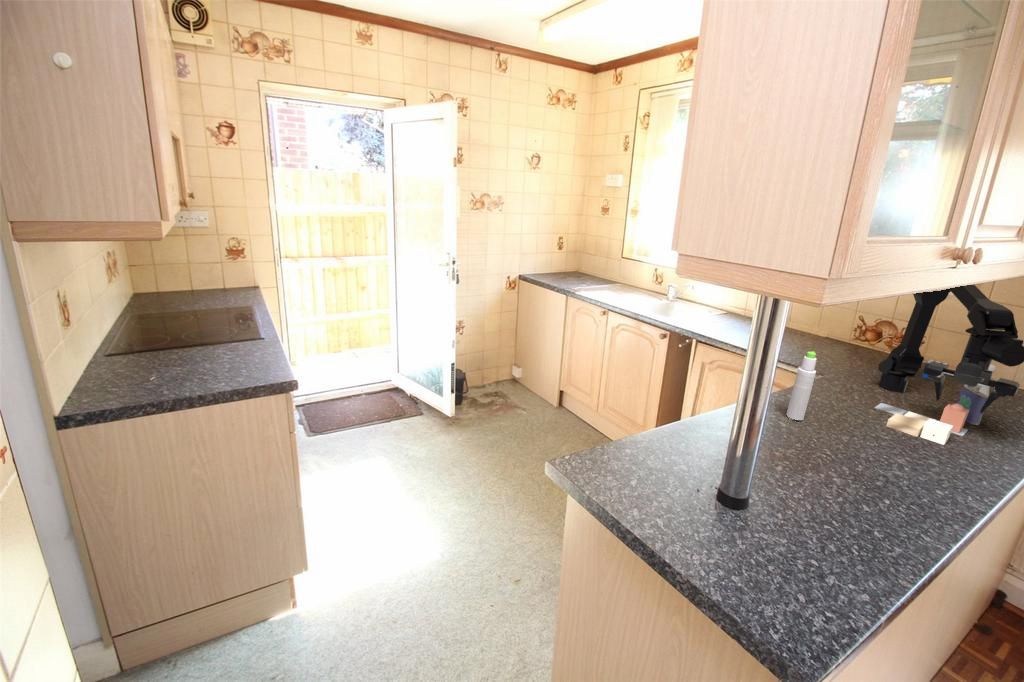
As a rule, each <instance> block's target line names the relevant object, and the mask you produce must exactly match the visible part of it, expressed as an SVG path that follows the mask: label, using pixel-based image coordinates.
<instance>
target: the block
mask: <svg viewBox="0 0 1024 682" xmlns="http://www.w3.org/2000/svg"><path fill="white" fill-rule="evenodd" d="M904 415H905V414H903V415H901V414H898V413H896V414H892V416H891V417H889V418H888V420H887V421H886V422H887V423H886V427H888V428H889V429H892V430H896V431H899V432H902V433H905V434H908V435H911V436H912V437H920V436H921V433H922V430H923V427H924V424H925V423H926V422H923V421H919V420H916V419H913V418H910V417H907V416H904Z"/></svg>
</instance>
